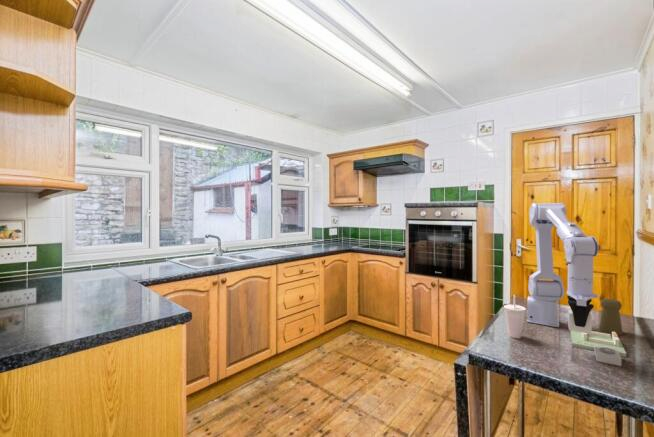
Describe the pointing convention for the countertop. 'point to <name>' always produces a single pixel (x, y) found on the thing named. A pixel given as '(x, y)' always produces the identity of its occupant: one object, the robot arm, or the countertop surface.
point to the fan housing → (607, 355)
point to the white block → (576, 328)
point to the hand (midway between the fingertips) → (579, 323)
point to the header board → (597, 341)
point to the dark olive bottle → (610, 317)
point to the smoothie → (514, 319)
